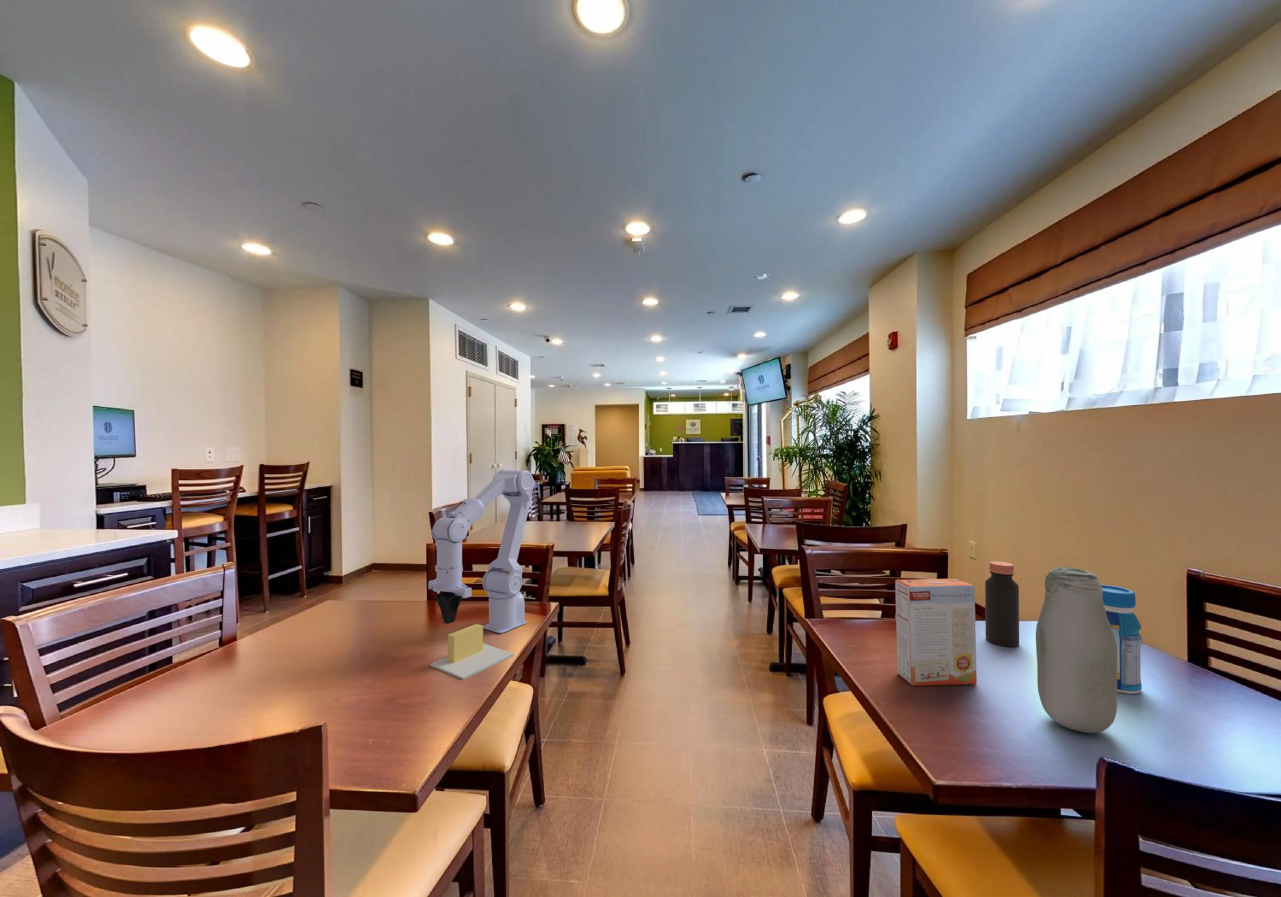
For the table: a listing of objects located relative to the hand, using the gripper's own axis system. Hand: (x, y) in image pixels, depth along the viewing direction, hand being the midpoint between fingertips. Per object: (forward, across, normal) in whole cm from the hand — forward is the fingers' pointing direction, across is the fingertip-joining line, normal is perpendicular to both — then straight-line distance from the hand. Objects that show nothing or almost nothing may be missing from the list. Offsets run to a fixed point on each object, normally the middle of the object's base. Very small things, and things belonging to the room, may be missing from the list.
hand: (449, 622), depth 114 cm
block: (+7, +6, 0) cm, 9 cm away
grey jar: (+7, +121, +41) cm, 128 cm away
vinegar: (+7, +114, +80) cm, 140 cm away
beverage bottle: (+7, +131, +65) cm, 146 cm away
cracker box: (+7, +100, +48) cm, 111 cm away
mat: (+7, +9, 0) cm, 12 cm away
